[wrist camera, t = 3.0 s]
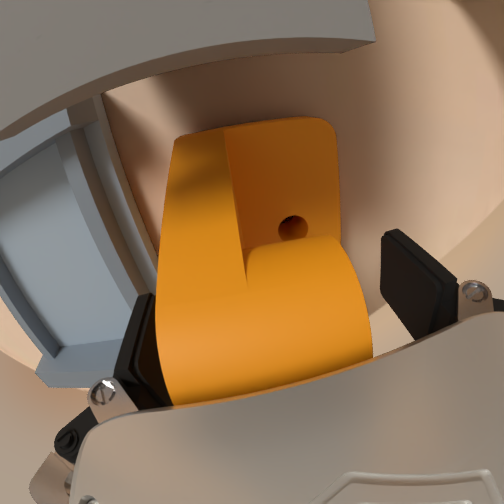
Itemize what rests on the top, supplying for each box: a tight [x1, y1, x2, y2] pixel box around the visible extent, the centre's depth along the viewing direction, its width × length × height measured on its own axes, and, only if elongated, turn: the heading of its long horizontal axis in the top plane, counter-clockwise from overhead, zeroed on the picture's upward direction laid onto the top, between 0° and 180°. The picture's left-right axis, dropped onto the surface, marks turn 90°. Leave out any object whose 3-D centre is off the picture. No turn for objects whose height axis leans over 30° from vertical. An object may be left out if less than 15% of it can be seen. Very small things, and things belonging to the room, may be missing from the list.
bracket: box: [155, 116, 373, 406], centre depth 11 cm, size 11×7×12 cm, turn 9°
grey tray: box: [0, 94, 159, 388], centre depth 14 cm, size 14×18×4 cm
